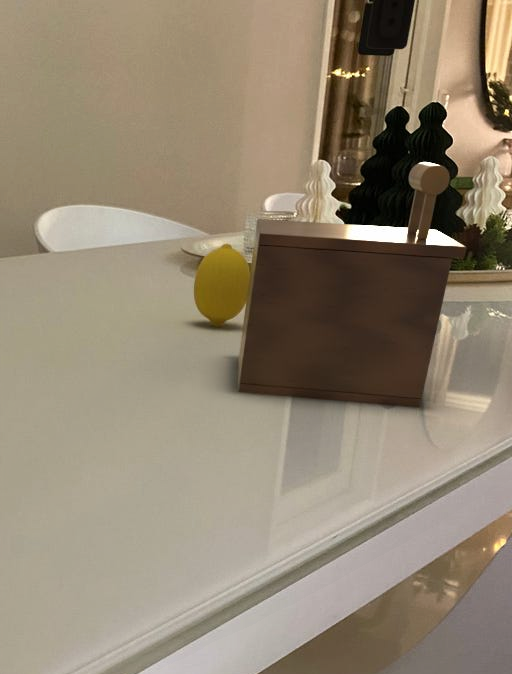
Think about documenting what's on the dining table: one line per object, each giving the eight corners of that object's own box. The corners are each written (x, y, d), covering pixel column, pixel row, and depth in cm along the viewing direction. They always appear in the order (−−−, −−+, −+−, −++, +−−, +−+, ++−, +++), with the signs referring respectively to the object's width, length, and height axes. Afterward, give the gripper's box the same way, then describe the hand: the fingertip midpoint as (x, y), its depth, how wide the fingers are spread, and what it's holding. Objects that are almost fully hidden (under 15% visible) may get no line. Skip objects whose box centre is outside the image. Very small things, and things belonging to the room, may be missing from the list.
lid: (435, 240, 85) (451, 162, 82) (464, 258, 74) (484, 169, 71) (256, 228, 87) (266, 152, 84) (258, 244, 76) (270, 157, 73)
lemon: (195, 320, 109) (204, 238, 105) (248, 325, 107) (259, 243, 104) (184, 328, 104) (193, 243, 101) (239, 334, 103) (251, 248, 99)
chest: (397, 373, 90) (424, 240, 85) (419, 409, 79) (452, 258, 74) (238, 360, 92) (255, 229, 87) (238, 393, 81) (258, 245, 76)
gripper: (492, -229, 74) (439, 47, 82) (454, -169, 89) (412, 59, 97) (384, -229, 75) (341, 44, 83) (364, -170, 90) (330, 56, 98)
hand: (380, 51), depth 90 cm, fingers open, 9 cm apart
